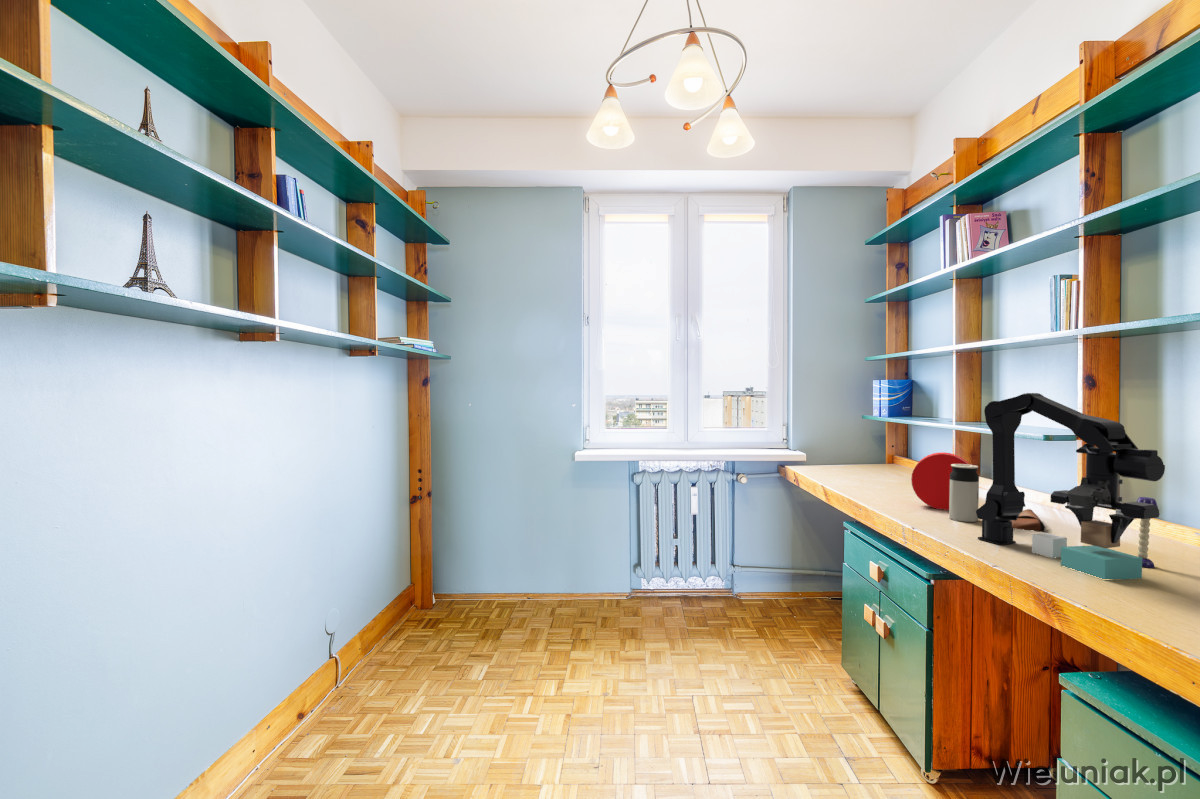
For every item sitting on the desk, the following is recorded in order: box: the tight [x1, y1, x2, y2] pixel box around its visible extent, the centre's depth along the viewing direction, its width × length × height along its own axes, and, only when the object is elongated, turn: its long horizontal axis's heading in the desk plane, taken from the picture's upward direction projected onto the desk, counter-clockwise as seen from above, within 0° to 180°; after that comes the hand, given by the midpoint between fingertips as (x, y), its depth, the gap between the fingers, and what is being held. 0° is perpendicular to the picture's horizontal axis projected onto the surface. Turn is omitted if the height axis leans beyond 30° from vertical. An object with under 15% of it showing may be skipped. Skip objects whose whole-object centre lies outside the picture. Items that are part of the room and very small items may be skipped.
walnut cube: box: [1080, 519, 1121, 549], centre depth 128 cm, size 5×5×5 cm
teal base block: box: [1060, 545, 1143, 580], centre depth 128 cm, size 10×10×5 cm
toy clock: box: [910, 452, 971, 511], centre depth 196 cm, size 20×6×20 cm, turn 56°
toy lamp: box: [1136, 496, 1160, 569], centre depth 133 cm, size 5×5×17 cm
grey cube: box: [1031, 532, 1068, 559], centre depth 141 cm, size 5×5×5 cm
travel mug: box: [948, 464, 980, 523], centre depth 179 cm, size 8×8×18 cm
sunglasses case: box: [1011, 508, 1046, 532], centre depth 173 cm, size 18×7×7 cm
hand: (1100, 540), depth 128 cm, fingers closed on walnut cube, 5 cm apart
